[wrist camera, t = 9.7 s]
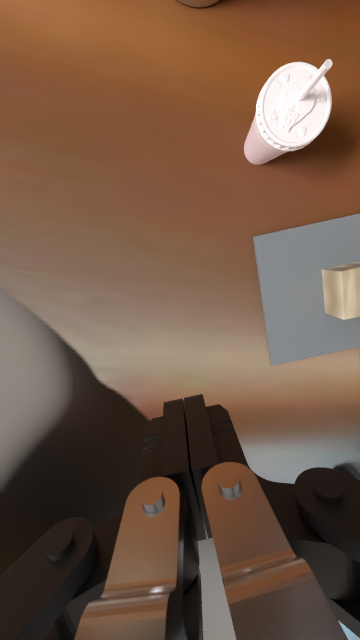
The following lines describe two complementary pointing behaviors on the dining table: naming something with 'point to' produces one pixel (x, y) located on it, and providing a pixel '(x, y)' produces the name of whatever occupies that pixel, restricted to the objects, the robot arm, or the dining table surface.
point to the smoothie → (289, 111)
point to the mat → (305, 288)
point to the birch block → (342, 290)
